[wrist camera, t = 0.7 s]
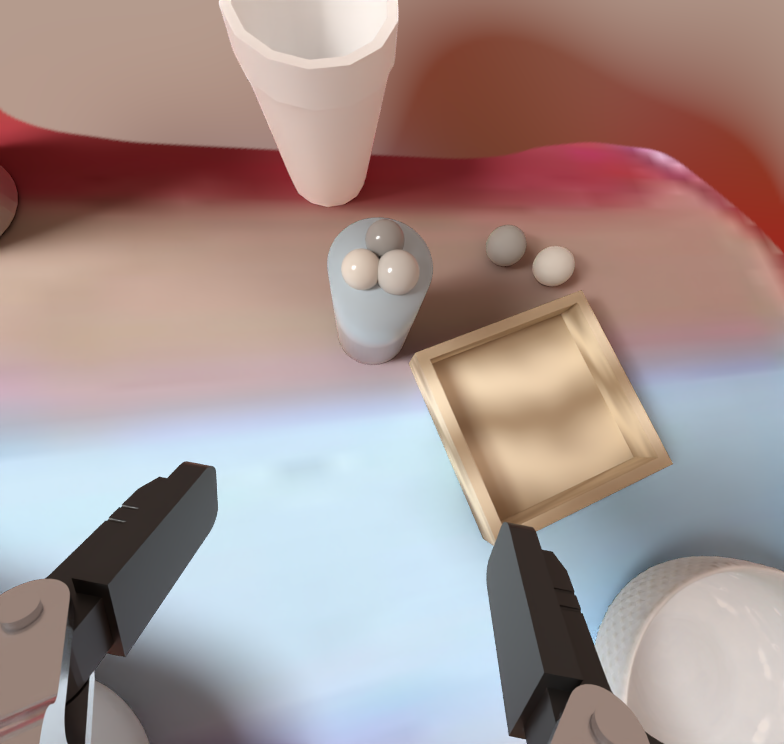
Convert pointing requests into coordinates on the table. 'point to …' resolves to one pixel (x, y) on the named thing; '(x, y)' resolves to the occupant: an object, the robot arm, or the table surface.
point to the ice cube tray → (114, 719)
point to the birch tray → (537, 416)
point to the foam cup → (317, 83)
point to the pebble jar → (377, 286)
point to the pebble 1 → (506, 245)
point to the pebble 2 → (553, 266)
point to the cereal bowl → (699, 651)
